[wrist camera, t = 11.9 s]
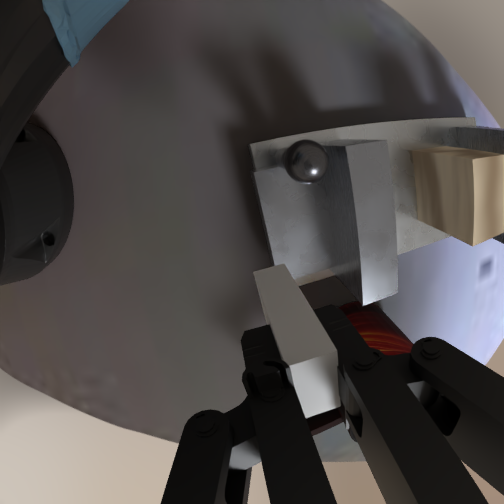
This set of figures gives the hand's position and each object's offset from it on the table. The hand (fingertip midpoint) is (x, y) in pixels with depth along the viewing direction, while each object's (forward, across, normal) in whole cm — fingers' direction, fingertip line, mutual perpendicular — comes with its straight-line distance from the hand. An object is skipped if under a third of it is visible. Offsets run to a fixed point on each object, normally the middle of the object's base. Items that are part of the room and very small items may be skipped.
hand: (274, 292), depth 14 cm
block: (+11, +19, 0) cm, 22 cm away
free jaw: (+11, +5, +1) cm, 12 cm away
